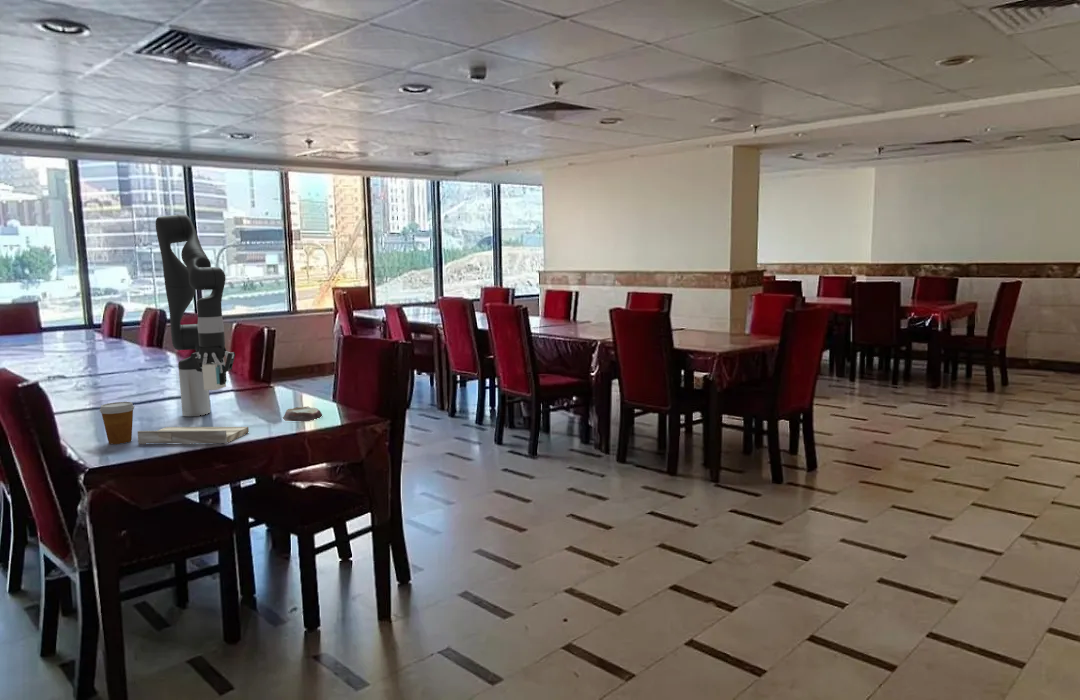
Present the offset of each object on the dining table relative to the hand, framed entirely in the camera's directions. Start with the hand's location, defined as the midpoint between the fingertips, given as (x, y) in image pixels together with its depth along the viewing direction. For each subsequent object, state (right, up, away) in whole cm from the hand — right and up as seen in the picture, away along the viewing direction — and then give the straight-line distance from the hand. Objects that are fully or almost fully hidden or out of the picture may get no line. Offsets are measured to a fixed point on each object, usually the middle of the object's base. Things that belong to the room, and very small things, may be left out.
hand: (215, 384), depth 237 cm
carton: (0, -1, 0) cm, 1 cm away
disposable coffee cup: (-28, -18, -4) cm, 34 cm away
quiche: (+18, -14, +28) cm, 36 cm away
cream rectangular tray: (-6, -17, -1) cm, 18 cm away
